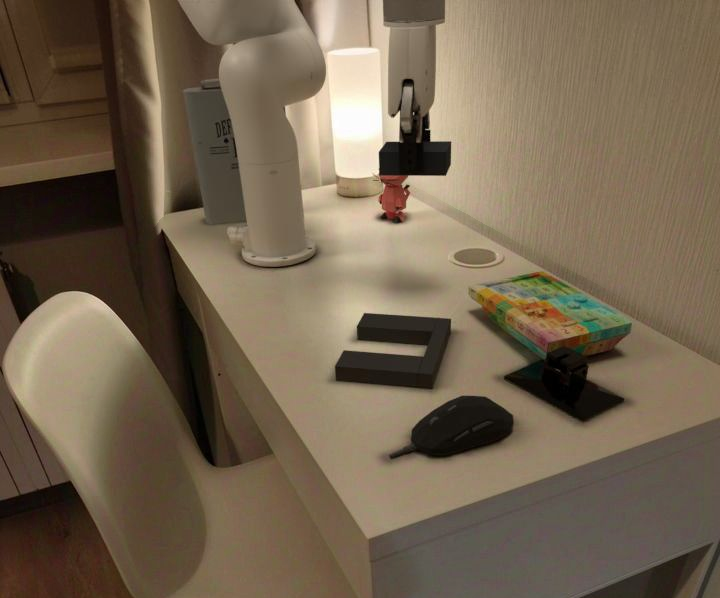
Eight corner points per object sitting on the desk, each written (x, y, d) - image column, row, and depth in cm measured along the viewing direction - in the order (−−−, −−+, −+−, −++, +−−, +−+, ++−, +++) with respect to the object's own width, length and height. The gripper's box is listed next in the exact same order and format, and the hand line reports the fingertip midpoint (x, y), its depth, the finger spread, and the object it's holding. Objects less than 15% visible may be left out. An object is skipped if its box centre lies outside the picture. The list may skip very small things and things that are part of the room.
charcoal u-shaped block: (432, 388, 86) (432, 374, 85) (335, 380, 89) (334, 366, 88) (450, 332, 98) (451, 318, 96) (364, 326, 100) (364, 312, 99)
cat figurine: (369, 219, 135) (366, 150, 128) (394, 209, 139) (393, 142, 132) (395, 227, 131) (394, 157, 124) (421, 217, 135) (422, 148, 127)
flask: (206, 225, 137) (180, 76, 121) (205, 218, 140) (179, 72, 125) (297, 214, 139) (283, 67, 124) (293, 207, 143) (279, 63, 127)
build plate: (502, 379, 88) (505, 344, 85) (545, 360, 91) (549, 326, 88) (582, 422, 79) (588, 385, 76) (626, 400, 82) (633, 364, 80)
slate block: (445, 175, 96) (446, 151, 94) (379, 175, 98) (378, 151, 96) (450, 164, 100) (451, 141, 98) (386, 164, 102) (386, 141, 100)
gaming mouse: (376, 442, 78) (374, 411, 76) (491, 405, 83) (493, 375, 80) (404, 473, 74) (403, 441, 71) (524, 433, 78) (528, 401, 76)
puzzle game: (549, 335, 84) (469, 279, 100) (545, 371, 87) (467, 312, 103) (633, 316, 87) (542, 264, 103) (626, 351, 90) (539, 296, 106)
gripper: (396, 4, 95) (398, 151, 106) (369, 19, 82) (375, 185, 93) (453, 1, 93) (450, 151, 104) (435, 16, 80) (434, 186, 91)
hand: (415, 166), depth 98 cm, fingers closed on slate block, 5 cm apart
